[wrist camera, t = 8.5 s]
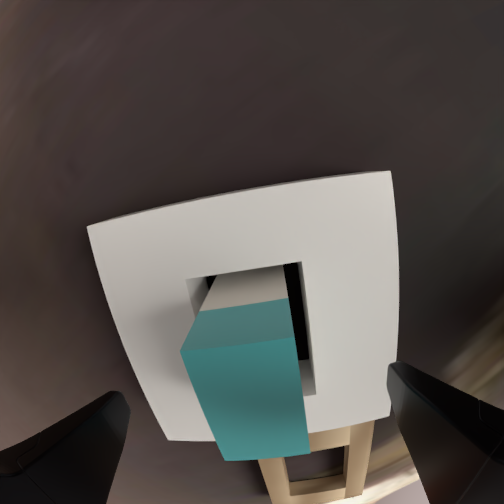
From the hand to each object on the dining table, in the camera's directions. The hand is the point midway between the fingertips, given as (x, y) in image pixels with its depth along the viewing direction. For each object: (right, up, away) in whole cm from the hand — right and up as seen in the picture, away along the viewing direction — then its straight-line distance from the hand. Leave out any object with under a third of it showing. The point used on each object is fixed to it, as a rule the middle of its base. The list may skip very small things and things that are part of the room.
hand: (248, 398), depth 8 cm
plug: (+1, +2, +6) cm, 6 cm away
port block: (0, +2, +6) cm, 6 cm away
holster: (+5, -11, +9) cm, 15 cm away
